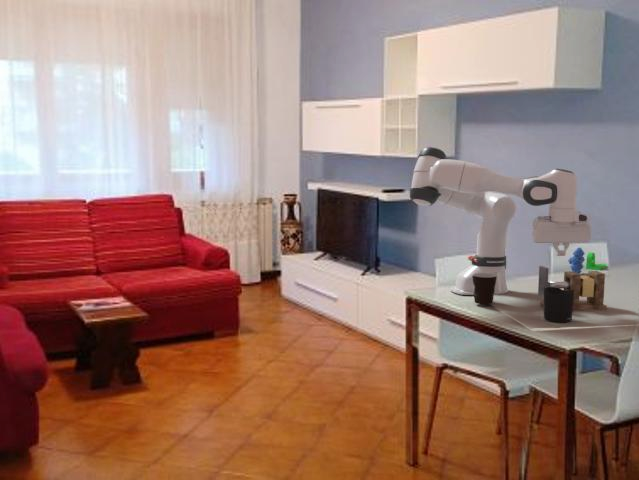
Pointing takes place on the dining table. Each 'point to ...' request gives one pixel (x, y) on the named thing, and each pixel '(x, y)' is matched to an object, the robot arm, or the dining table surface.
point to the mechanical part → (593, 262)
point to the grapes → (577, 260)
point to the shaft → (545, 284)
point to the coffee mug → (484, 287)
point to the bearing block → (591, 302)
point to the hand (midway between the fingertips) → (560, 255)
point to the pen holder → (558, 305)
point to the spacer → (586, 286)
